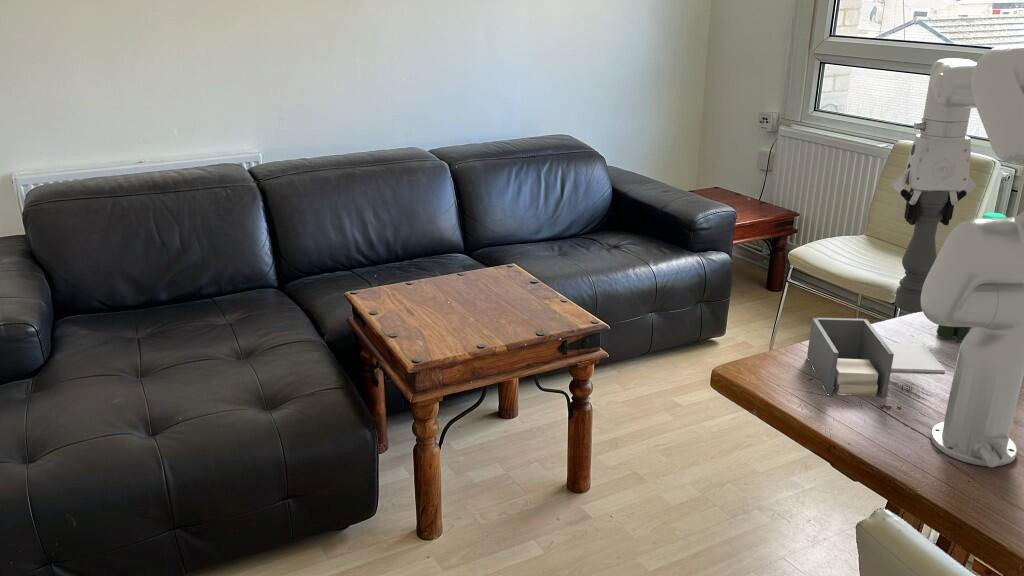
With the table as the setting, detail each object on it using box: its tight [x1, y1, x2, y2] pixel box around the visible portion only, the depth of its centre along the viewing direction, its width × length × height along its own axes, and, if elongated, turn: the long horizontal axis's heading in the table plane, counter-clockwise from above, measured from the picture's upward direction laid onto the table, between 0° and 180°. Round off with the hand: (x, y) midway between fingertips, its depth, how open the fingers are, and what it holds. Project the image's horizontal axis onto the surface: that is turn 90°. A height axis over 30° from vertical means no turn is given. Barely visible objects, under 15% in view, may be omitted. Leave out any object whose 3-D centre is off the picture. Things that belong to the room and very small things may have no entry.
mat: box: [885, 342, 946, 374], centre depth 166 cm, size 12×12×1 cm
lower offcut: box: [833, 380, 878, 397], centre depth 155 cm, size 6×7×2 cm
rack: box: [806, 317, 894, 398], centre depth 158 cm, size 16×11×9 cm, turn 175°
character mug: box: [936, 325, 971, 342], centre depth 173 cm, size 11×7×13 cm, turn 69°
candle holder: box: [893, 190, 949, 313], centre depth 158 cm, size 6×6×25 cm
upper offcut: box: [835, 358, 878, 386], centre depth 154 cm, size 6×7×2 cm
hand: (926, 222), depth 156 cm, fingers closed on candle holder, 5 cm apart
